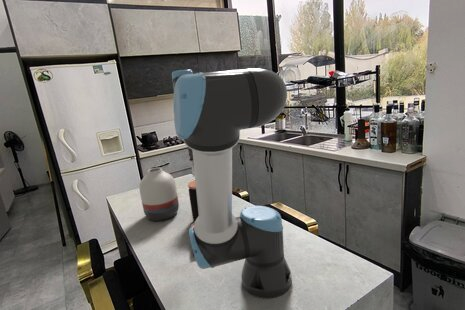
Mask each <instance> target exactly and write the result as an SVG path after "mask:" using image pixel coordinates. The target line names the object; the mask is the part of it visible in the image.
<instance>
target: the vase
mask: <svg viewBox="0 0 465 310" xmlns="http://www.w3.org/2000/svg"><path fill="white" fill-rule="evenodd" d="M138 187H139V195H140V200H141V204H142V210H143V213H144V215H145V217H146V218H147V219H148V220H150V221H155V222H159V221H165V220H168V219H170V218H172V217H174V216H176V214H177V213H178V211H179V206H180V205H179V198H178V191H177V185H176V181H175V179H174V177H173V175H171V174H170V173H168V172H166V171H164V170H163V169H162V167H151V168H150V169H148V170H147V173H146V175H144V176H143V178H142V179H141V180H140V183H139V186H138Z"/></svg>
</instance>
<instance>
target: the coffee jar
mask: <svg viewBox="0 0 465 310" xmlns="http://www.w3.org/2000/svg"><path fill="white" fill-rule="evenodd" d="M187 187H188V194H189V196H188V197H189V202H190V210H191V217H192V220H193V223H194V222H195V221H196V219H197V218H198V216H199V214H198V204H197V193H196V183H195V179H194V180H191V181H190V182H188V183H187Z"/></svg>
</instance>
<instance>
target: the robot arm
mask: <svg viewBox="0 0 465 310" xmlns="http://www.w3.org/2000/svg"><path fill="white" fill-rule="evenodd" d="M171 78H172V80H171V83H172V85H173V86H172V88H173V117H174V118H173V119H174V122H173V123H174V130H175V135H176V136H177V138H179V139H182V140H183V141H184V142H183V143H184V144H185V146H186V147H187V152H188V156H189V162H190V165H191V173H192V177H194V180H195V183H196V193H197V204H198V214H199V216H198V218H197V219H196V221H195V224H194V226H193V227H191V226H190V227H189V229H188V234H189V235H188V236H189V240H190V244H191V249H192V248H193V251H192V253H193V252H194V256H193V257H194V259H195V262H196V265H197V266H198V267H199V269H201V270H205V269H210V268H212V269H213V268H215V267H219V266H223V265H227V264H230V263H231V264H232V263H234V262H237V261H238V262H239V261H241V260H244V263H243V267H242V270H241V284H242V287H243V289H244V290H245V291H246V292H247V293H249V294H250V295H251V296H253V297H255V298H261V299H271V298H276V297H279V296H282V295H283V294H285V293H286V292H288V290H289V289H290V288H291V285H292V279H293V278H292V271H291V269H290V267H289V265H288V262H287V260H286V258H285V249H284V247H285V245H284V231H283V230H284V226H283V221H282V216H281V214H280V213H279V212H278V211H277V210H276V209H274V208H271V207H269V206H264V205H251V206H246V207H244V208H243V209H241V211H240V214H239V216H238V217H236V216H235V215H234V214H233V148H235V146H237V145H238V143H239V142H240V136H241V135H240V131H242V130H247V129H248V130H249V129H253V128H260V127H262V126H265V125H268V124H269V123H271V122H273V121H274V120H276V119H277V118H278V116H279V115H281V113H282V111H283V110H284V109H285V106H286V104H287V99H288V90H287V85H286V83H285V81H284V80H283V78H282V77H281V75H279V74H278V73H276V72H274V71H272V70H268V69H264V68H259V67H258V68H254V67H253V68H245V69H244V68H243V69H230V70H222V71H210V72H201V71H200V72H196V73H193V70H192V69H179V70H174V71H172V72H171Z"/></svg>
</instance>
